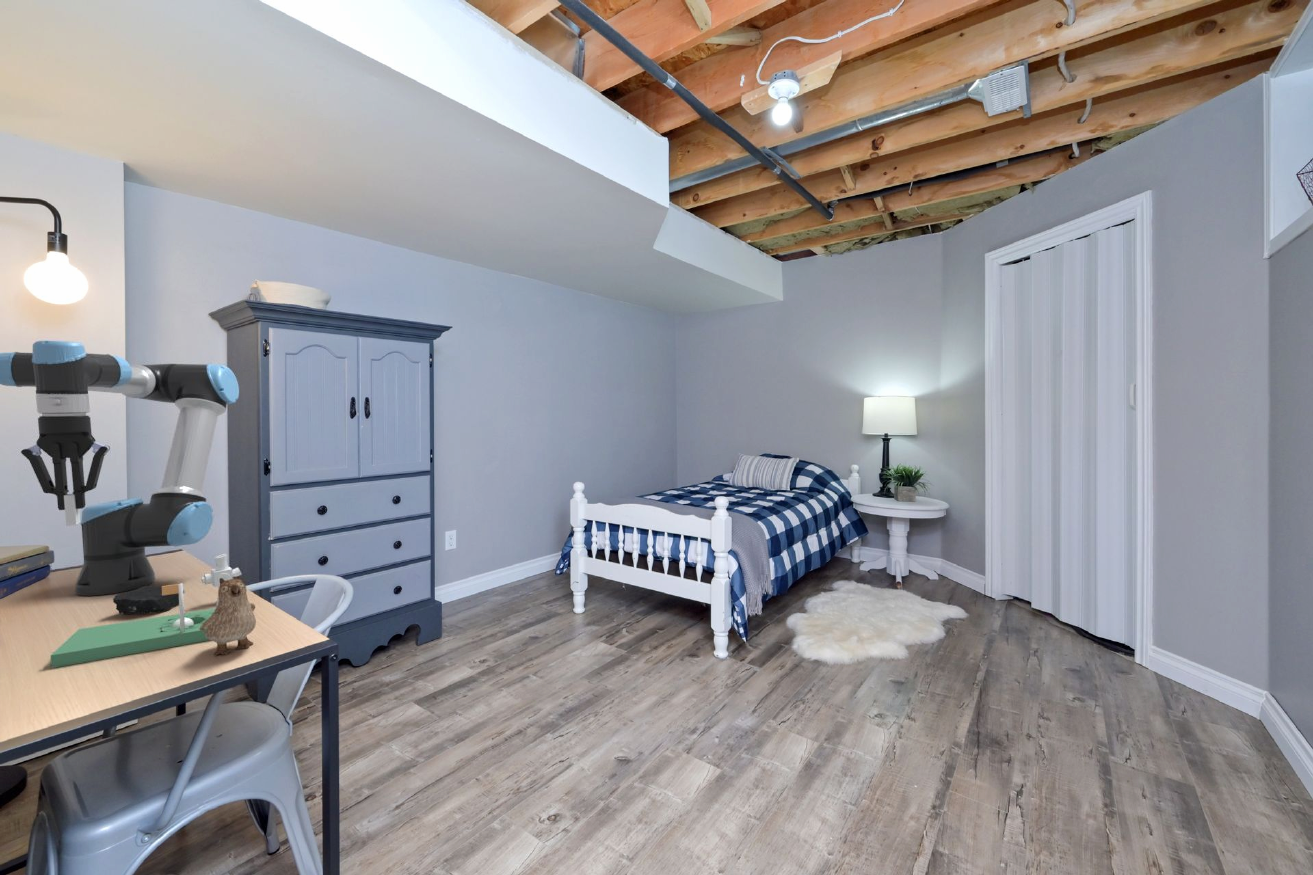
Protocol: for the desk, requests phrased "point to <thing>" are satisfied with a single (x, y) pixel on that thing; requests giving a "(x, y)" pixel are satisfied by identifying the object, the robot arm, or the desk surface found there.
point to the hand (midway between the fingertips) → (73, 524)
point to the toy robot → (220, 573)
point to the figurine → (231, 617)
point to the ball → (187, 622)
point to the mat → (133, 635)
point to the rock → (145, 600)
